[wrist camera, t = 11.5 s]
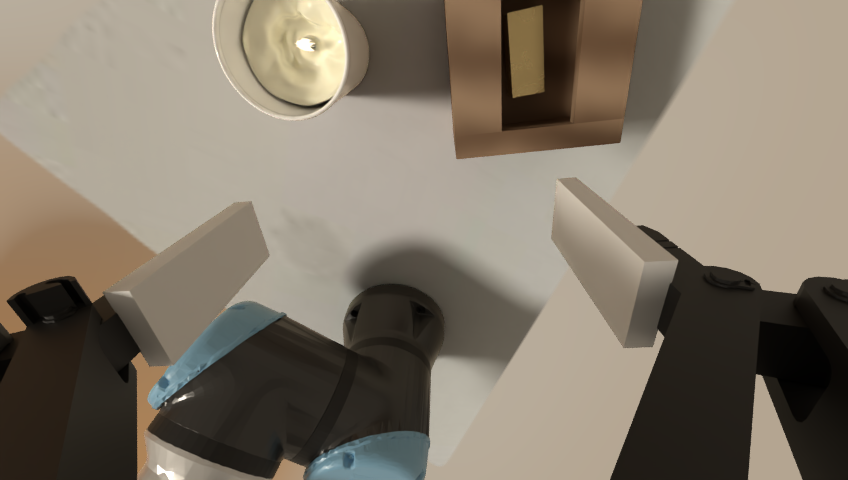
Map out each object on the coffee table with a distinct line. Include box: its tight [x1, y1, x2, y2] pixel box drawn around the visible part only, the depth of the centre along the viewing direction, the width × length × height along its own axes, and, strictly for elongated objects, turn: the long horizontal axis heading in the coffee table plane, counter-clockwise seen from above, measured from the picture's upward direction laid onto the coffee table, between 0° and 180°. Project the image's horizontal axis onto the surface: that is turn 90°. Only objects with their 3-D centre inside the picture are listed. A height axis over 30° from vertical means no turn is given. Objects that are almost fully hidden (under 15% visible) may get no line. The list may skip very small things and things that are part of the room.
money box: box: [444, 0, 643, 159], centre depth 30 cm, size 14×14×9 cm
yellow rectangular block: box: [502, 5, 545, 98], centre depth 32 cm, size 3×7×3 cm, turn 11°
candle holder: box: [212, 0, 369, 121], centre depth 29 cm, size 10×10×12 cm
